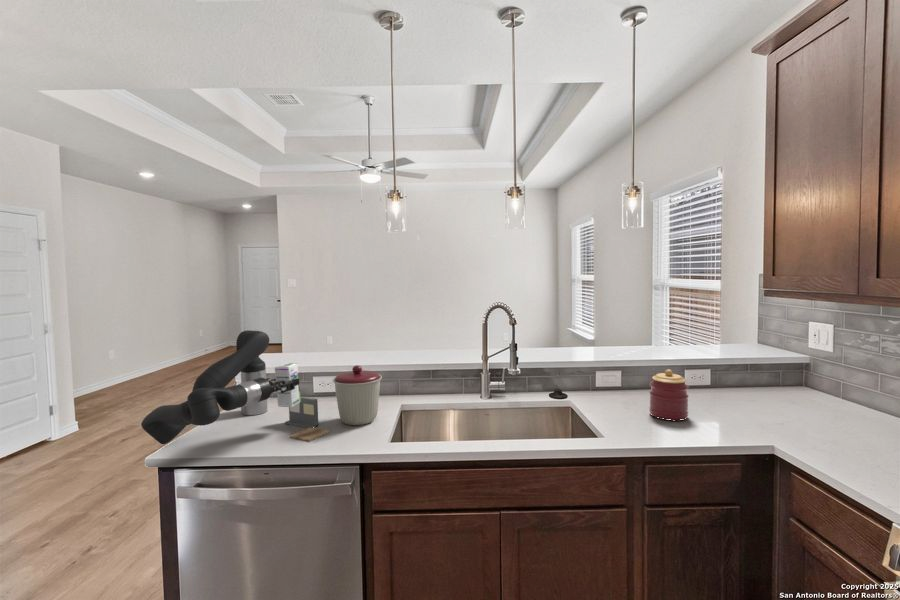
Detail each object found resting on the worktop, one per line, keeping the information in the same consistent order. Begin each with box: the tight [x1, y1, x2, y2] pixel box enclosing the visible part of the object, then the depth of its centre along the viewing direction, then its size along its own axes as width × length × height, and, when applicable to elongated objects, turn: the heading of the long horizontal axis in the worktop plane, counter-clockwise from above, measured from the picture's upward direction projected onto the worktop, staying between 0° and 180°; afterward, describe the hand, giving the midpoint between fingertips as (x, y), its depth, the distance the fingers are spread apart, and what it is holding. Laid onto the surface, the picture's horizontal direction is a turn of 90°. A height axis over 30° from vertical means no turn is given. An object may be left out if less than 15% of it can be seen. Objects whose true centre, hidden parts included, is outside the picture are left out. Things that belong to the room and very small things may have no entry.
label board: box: [284, 396, 319, 428], centre depth 159 cm, size 13×3×10 cm, turn 64°
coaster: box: [289, 427, 330, 442], centre depth 149 cm, size 9×9×1 cm
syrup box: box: [274, 362, 301, 408], centre depth 153 cm, size 6×6×14 cm
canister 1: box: [332, 365, 383, 426], centre depth 162 cm, size 18×18×21 cm
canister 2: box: [648, 368, 690, 420], centre depth 161 cm, size 13×13×18 cm
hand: (291, 380), depth 155 cm, fingers closed on syrup box, 6 cm apart
